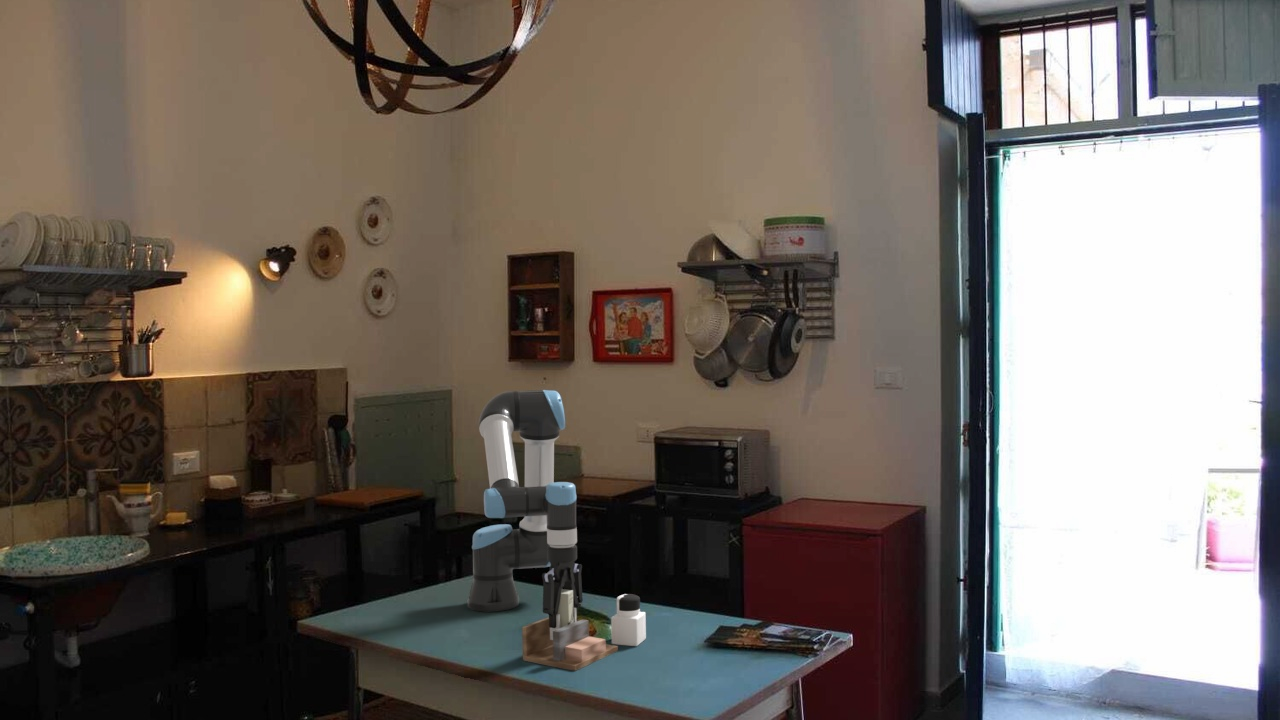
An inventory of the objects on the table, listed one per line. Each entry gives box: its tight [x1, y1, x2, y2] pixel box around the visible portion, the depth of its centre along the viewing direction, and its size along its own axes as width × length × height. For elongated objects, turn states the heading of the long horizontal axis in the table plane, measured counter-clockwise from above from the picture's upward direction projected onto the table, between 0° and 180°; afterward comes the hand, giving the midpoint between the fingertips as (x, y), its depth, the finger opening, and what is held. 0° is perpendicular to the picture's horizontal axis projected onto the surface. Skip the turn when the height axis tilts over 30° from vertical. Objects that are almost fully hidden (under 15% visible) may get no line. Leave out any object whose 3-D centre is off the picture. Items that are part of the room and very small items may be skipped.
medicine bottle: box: [610, 593, 647, 647], centre depth 266 cm, size 7×7×12 cm
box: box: [553, 588, 574, 628], centre depth 257 cm, size 5×4×13 cm
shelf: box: [521, 616, 619, 672], centre depth 255 cm, size 18×16×8 cm
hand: (563, 636), depth 257 cm, fingers closed on box, 6 cm apart
